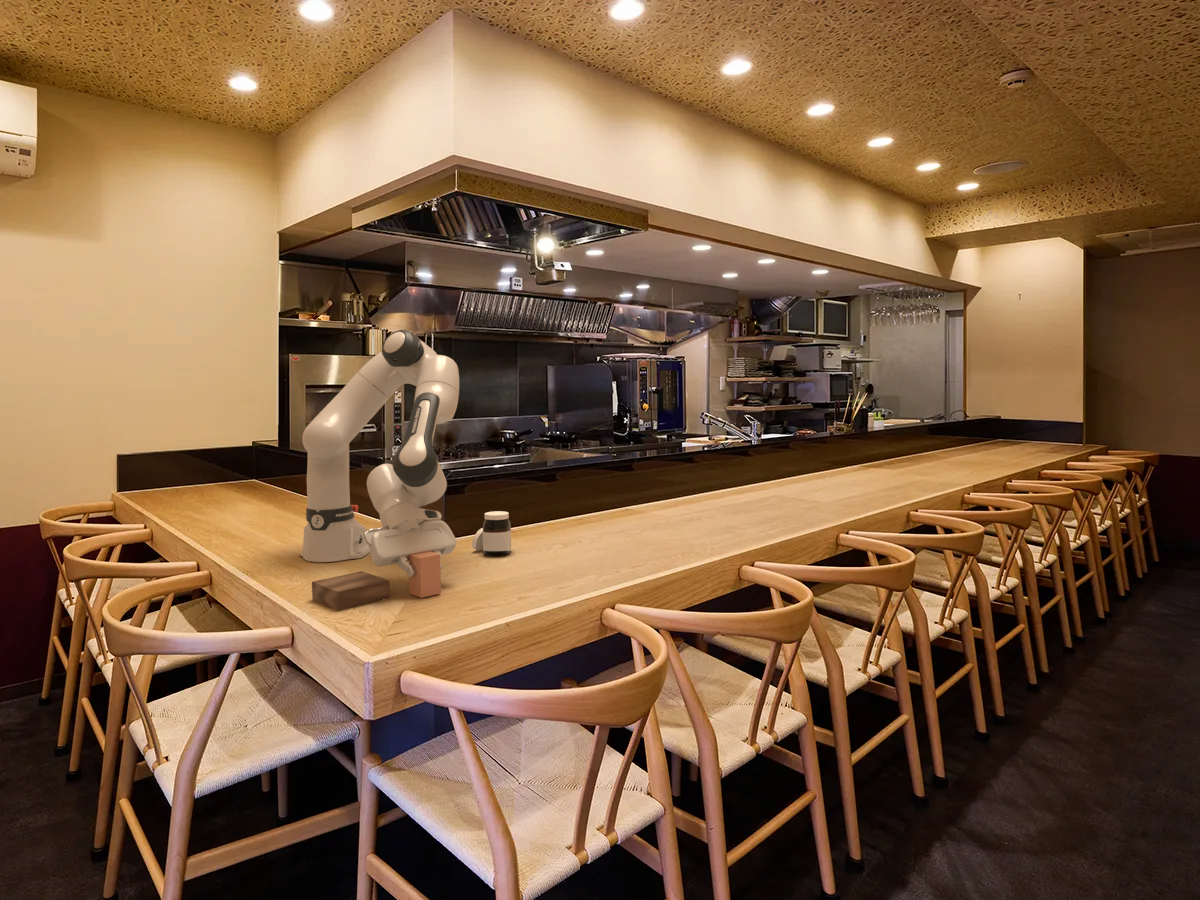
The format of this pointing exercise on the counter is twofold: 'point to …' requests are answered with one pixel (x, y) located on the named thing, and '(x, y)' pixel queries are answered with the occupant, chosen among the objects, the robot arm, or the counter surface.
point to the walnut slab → (350, 590)
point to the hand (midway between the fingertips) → (426, 572)
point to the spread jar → (494, 534)
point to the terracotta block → (425, 574)
